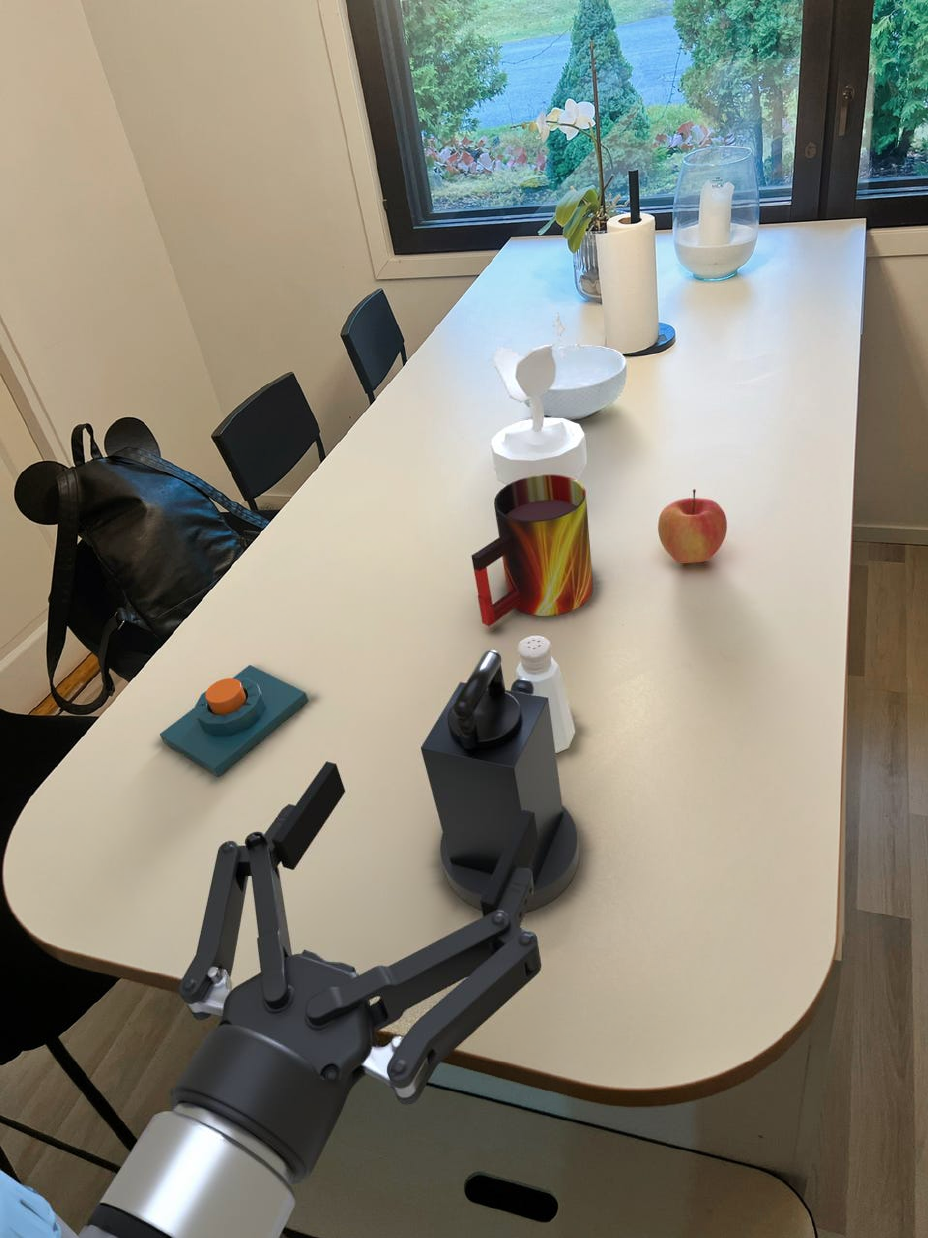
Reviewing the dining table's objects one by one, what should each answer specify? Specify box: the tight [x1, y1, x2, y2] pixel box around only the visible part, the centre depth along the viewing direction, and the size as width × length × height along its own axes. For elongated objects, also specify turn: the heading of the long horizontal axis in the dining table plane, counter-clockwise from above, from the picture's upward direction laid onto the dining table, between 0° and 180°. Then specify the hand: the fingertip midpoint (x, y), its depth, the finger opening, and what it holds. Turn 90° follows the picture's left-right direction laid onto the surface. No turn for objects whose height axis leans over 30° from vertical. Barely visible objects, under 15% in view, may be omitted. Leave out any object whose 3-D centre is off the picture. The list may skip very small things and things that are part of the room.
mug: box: [470, 475, 594, 628], centre depth 93 cm, size 10×14×12 cm
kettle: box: [420, 649, 563, 885], centre depth 65 cm, size 11×7×17 cm, turn 157°
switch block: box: [159, 664, 309, 778], centre depth 88 cm, size 12×9×3 cm
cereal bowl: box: [523, 344, 628, 421], centre depth 132 cm, size 17×17×7 cm
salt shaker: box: [515, 635, 577, 754], centre depth 77 cm, size 5×5×11 cm
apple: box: [657, 488, 728, 564], centre depth 96 cm, size 7×7×8 cm
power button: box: [205, 677, 246, 715], centre depth 87 cm, size 4×4×2 cm
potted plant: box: [490, 313, 588, 486], centre depth 106 cm, size 13×12×25 cm
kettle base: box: [439, 804, 580, 913], centre depth 70 cm, size 11×11×2 cm
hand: (428, 799), depth 55 cm, fingers open, 13 cm apart
